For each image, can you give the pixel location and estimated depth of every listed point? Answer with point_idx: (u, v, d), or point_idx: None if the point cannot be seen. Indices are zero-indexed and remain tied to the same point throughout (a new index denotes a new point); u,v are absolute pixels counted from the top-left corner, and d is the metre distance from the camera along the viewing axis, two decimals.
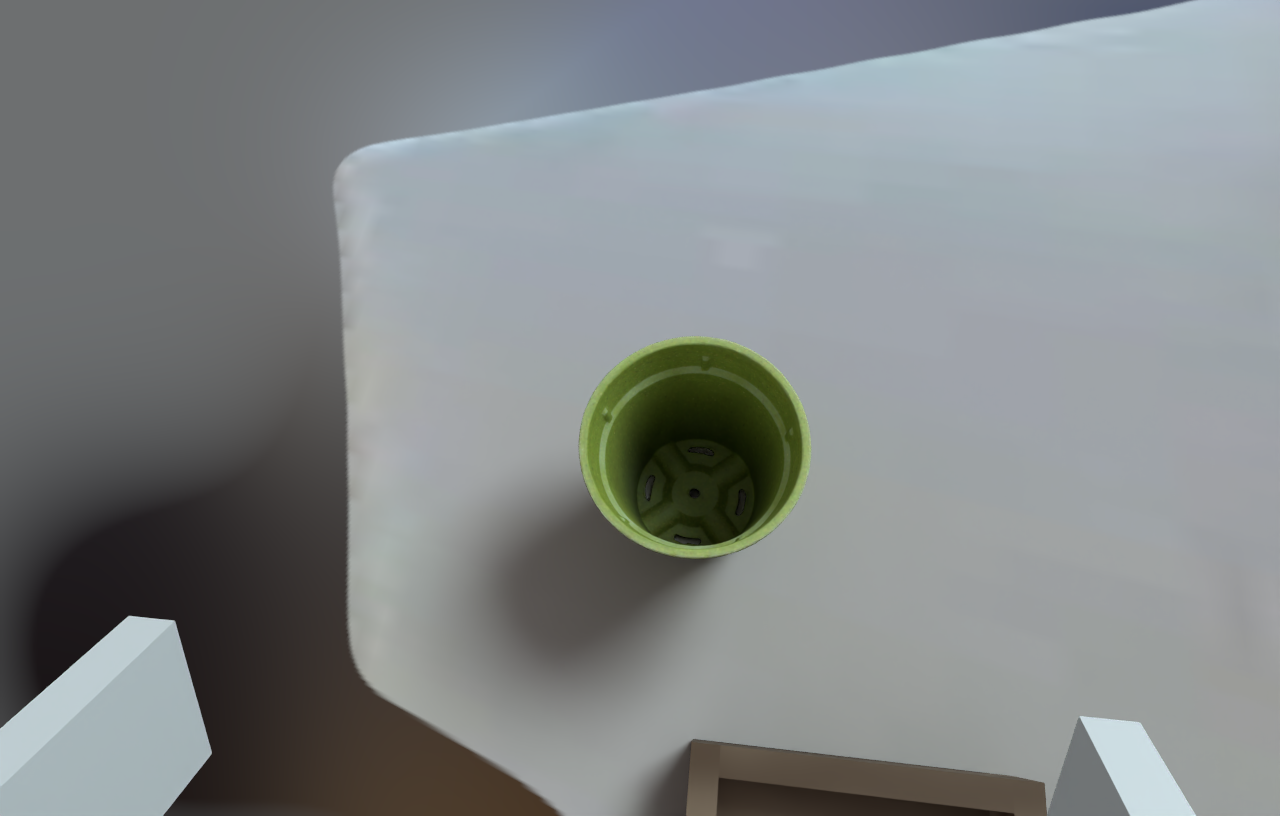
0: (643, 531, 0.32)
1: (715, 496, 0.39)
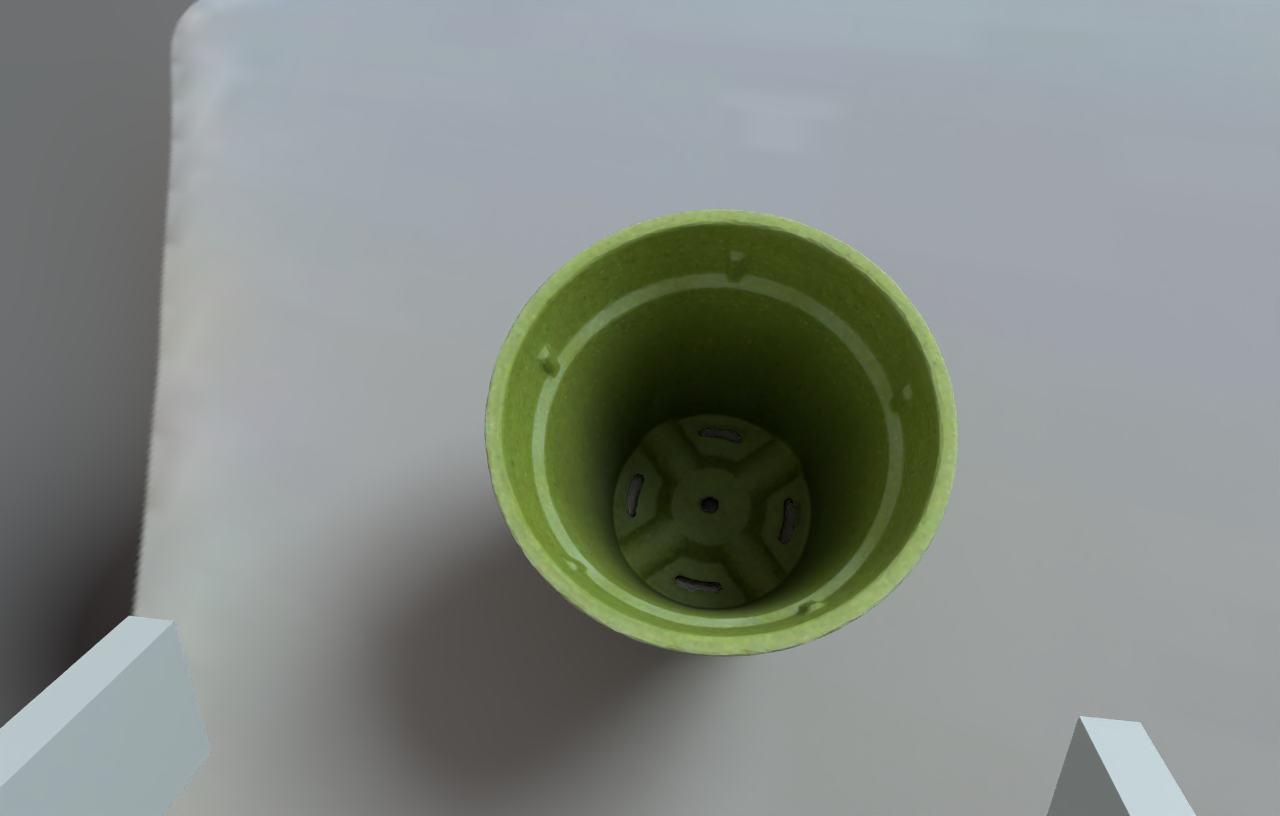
0: (614, 587, 0.16)
1: (744, 511, 0.23)
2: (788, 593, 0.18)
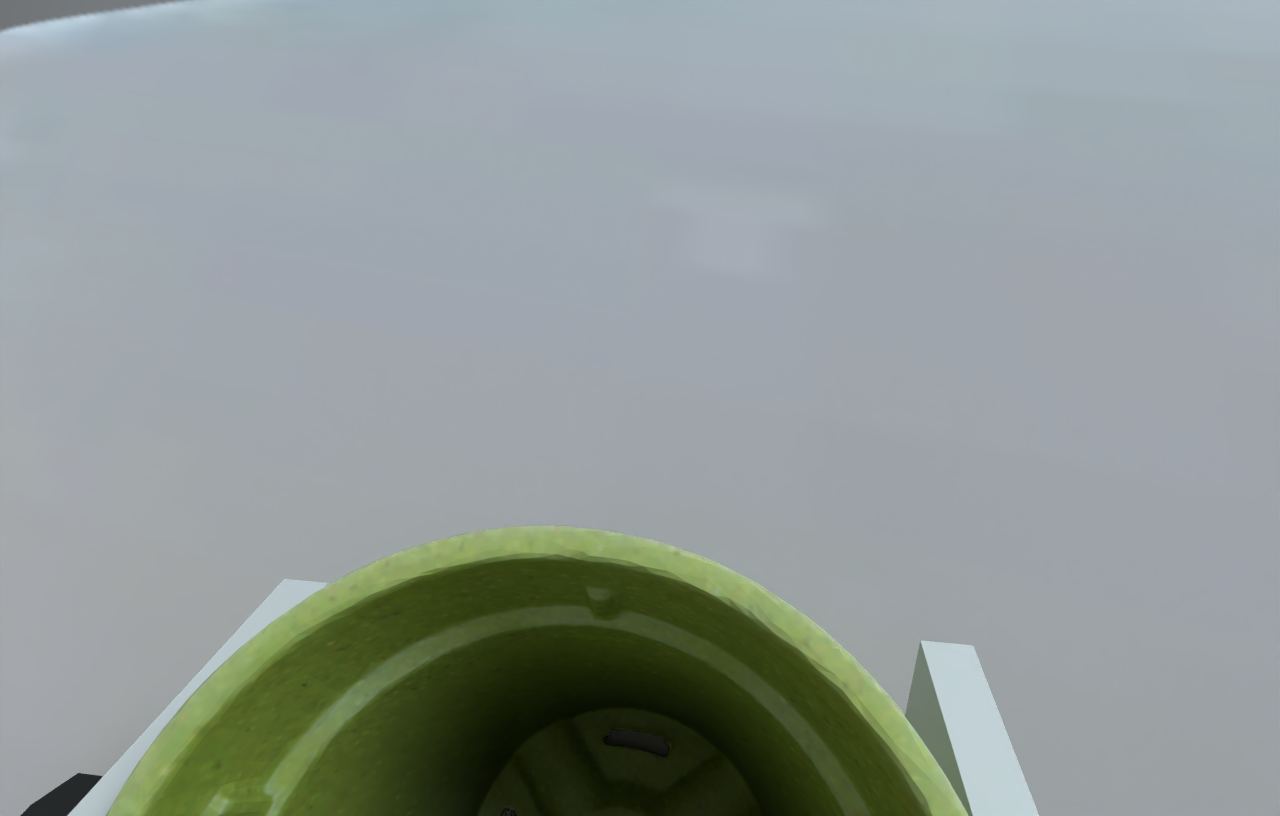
0: None
1: None
2: None
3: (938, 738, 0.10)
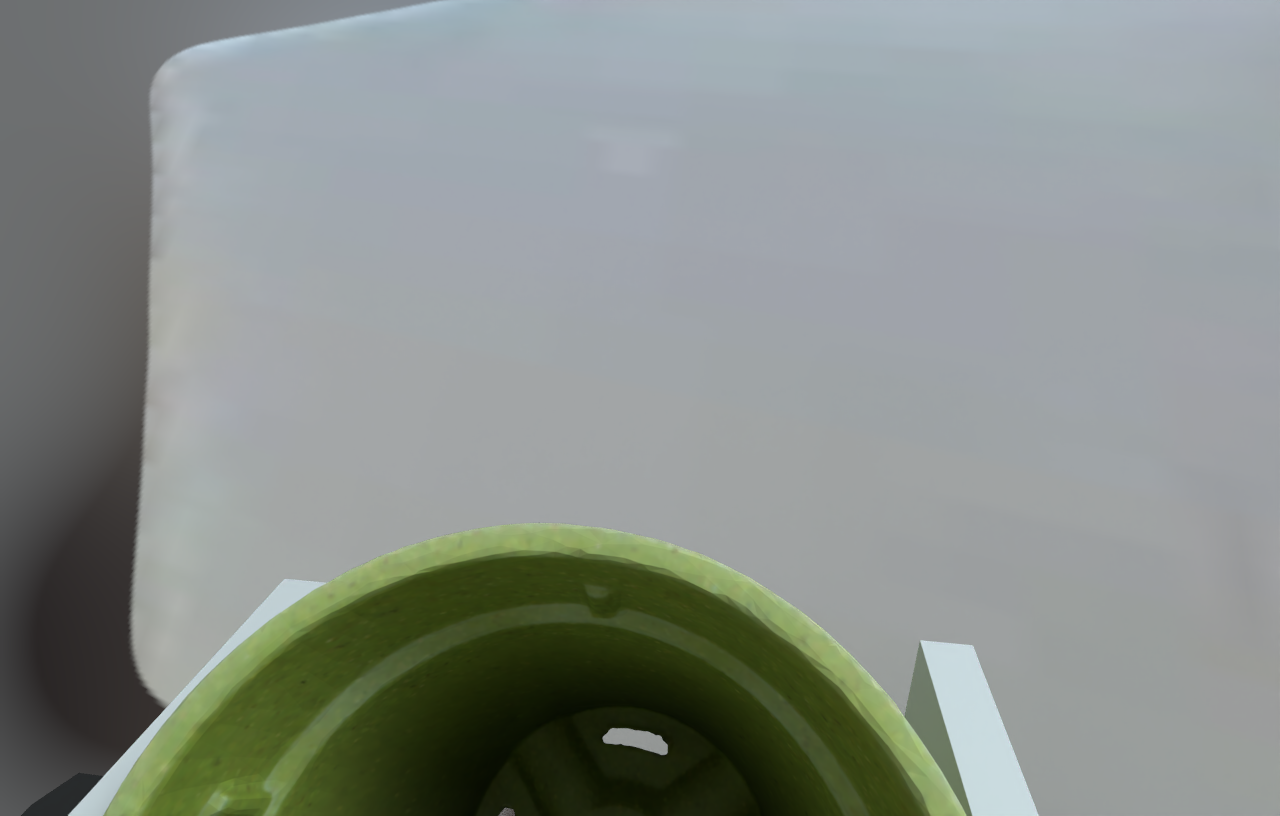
0: None
1: None
2: None
3: (937, 738, 0.10)
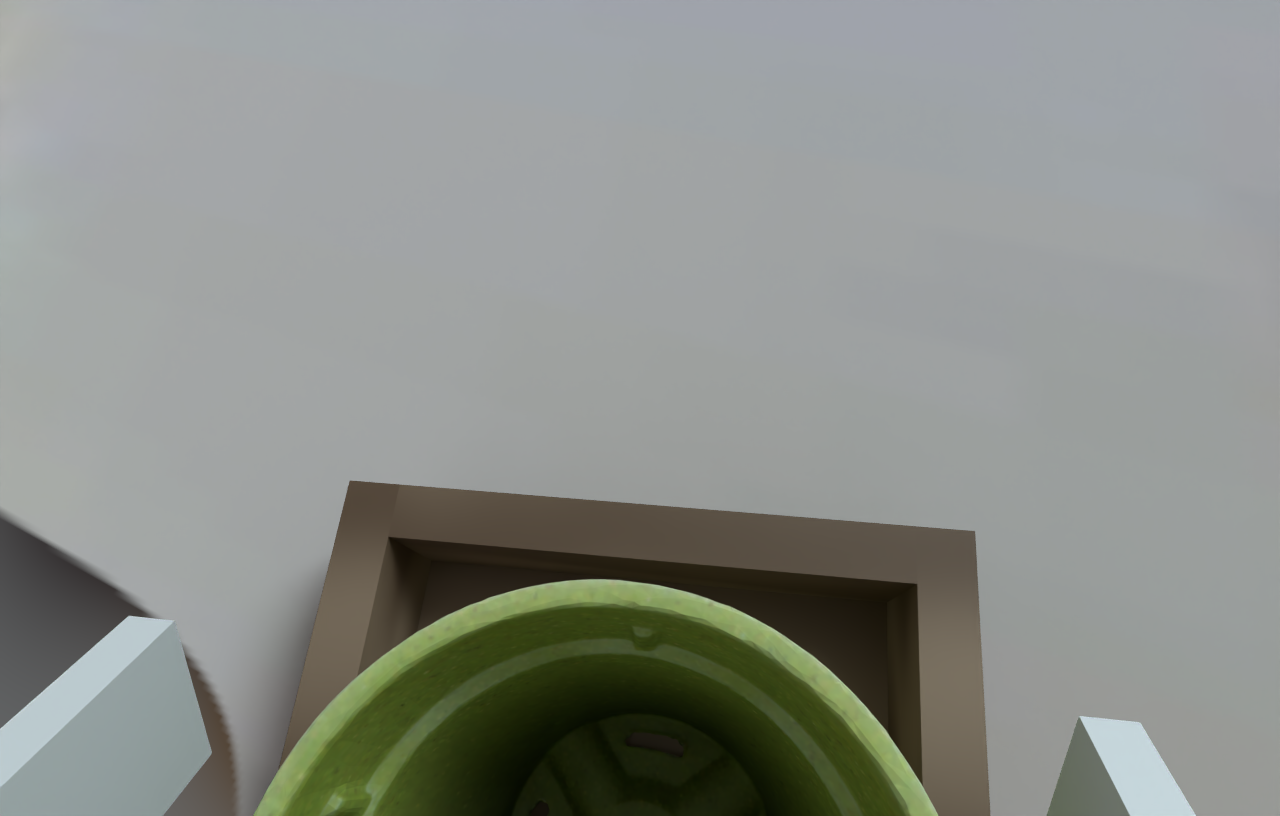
0: None
1: None
2: None
3: None
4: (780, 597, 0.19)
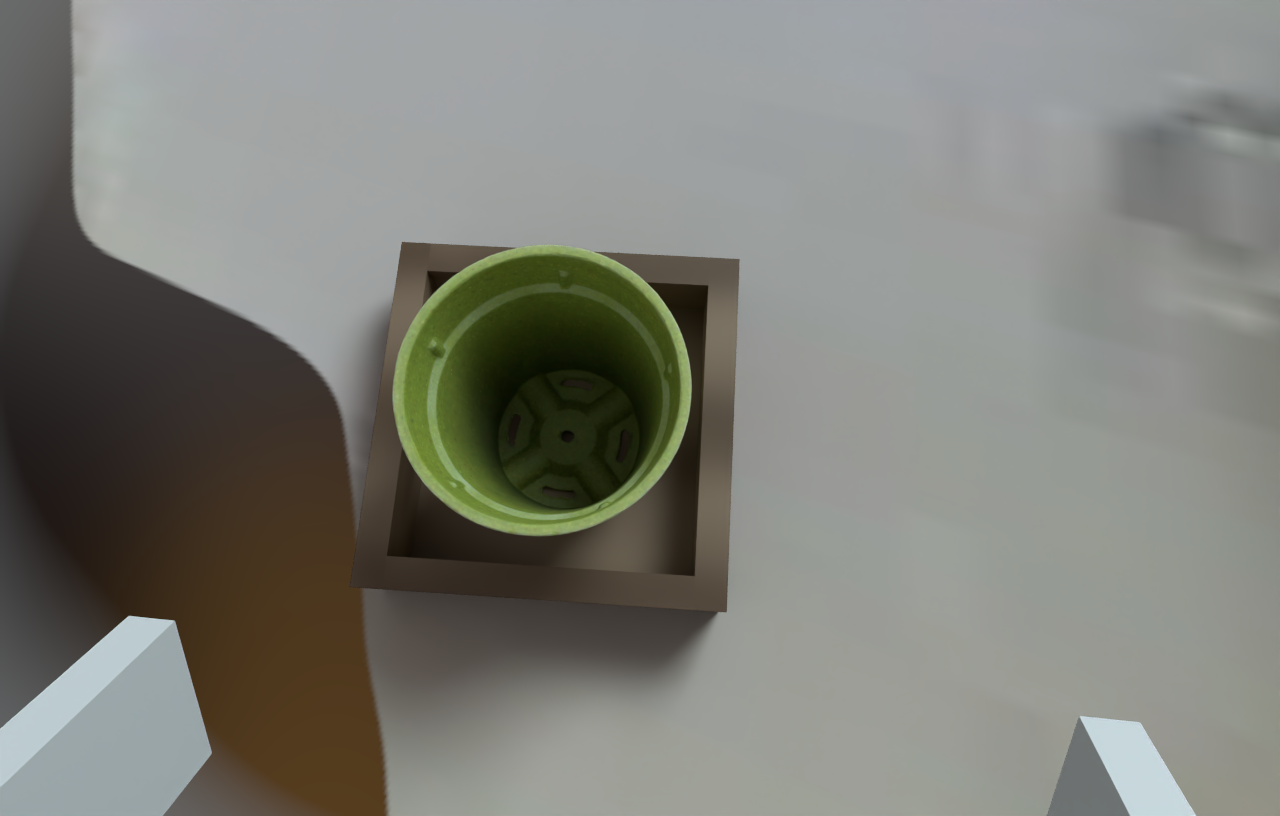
0: (483, 497, 0.25)
1: (592, 440, 0.32)
2: (606, 497, 0.28)
3: None
4: None
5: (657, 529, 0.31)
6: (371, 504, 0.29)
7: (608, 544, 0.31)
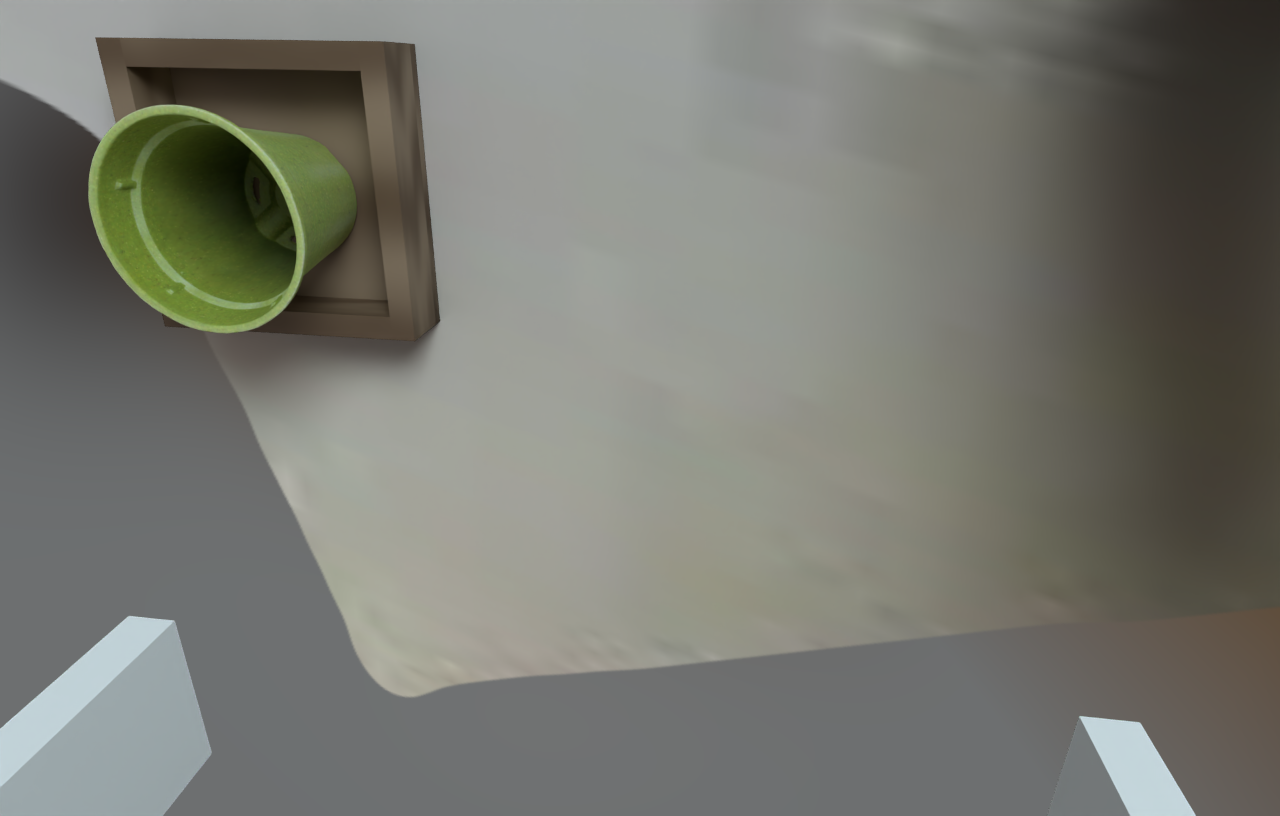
0: (200, 292, 0.35)
1: None
2: None
3: None
4: (338, 72, 0.37)
5: (382, 266, 0.41)
6: None
7: (349, 277, 0.42)
